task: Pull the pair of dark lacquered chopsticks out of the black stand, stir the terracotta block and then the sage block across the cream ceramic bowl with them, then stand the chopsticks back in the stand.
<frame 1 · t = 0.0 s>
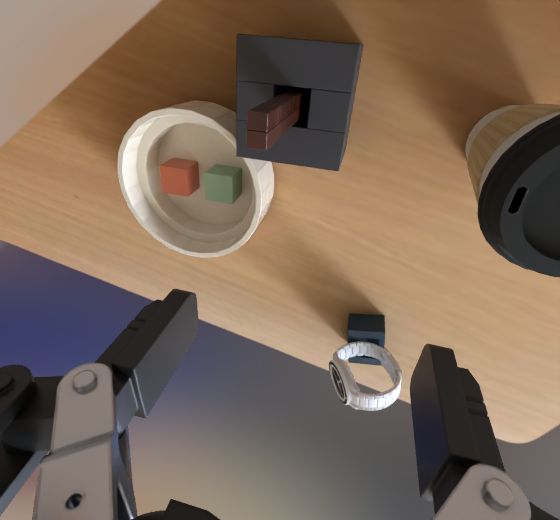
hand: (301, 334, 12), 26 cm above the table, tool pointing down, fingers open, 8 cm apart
terracotta block: (186, 172, 38), point 1 cm above the table, touching bowl
watch: (365, 330, 45), on the table
sage block: (229, 179, 38), point 1 cm above the table, touching bowl
coffee cup: (503, 142, 30), on the table
chopsticks: (288, 109, 25), in the stand
stand: (306, 95, 32), on the table
bowl: (209, 174, 38), on the table
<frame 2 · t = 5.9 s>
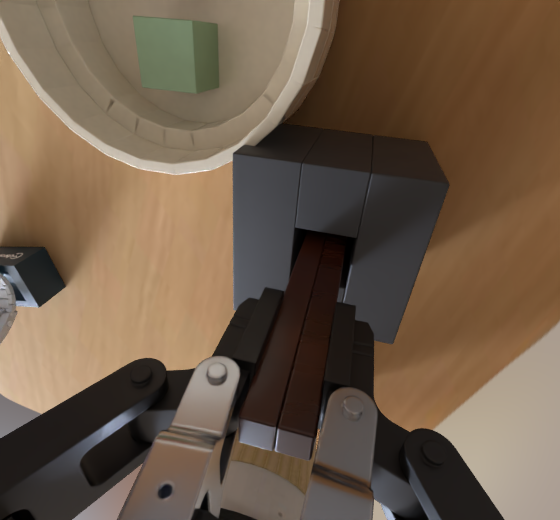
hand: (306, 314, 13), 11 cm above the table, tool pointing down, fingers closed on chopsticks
watch: (33, 265, 32), on the table
sage block: (193, 54, 19), point 1 cm above the table, touching bowl
coffee cup: (284, 376, 32), on the table
chopsticks: (318, 270, 15), in the stand, touching gripper
stand: (335, 203, 22), on the table
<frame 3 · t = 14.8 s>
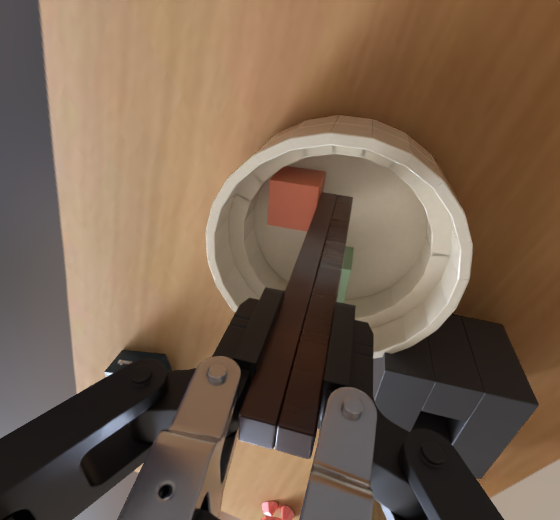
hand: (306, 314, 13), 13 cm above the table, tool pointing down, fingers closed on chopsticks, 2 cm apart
terracotta block: (301, 189, 23), point 1 cm above the table, touching bowl, chopsticks
watch: (149, 364, 39), on the table
sage block: (330, 260, 26), point 1 cm above the table, touching bowl
chopsticks: (318, 270, 15), point 10 cm above the table, touching gripper, terracotta block
stand: (424, 351, 29), on the table
cat figurine: (279, 506, 50), on the table
bowl: (336, 227, 25), on the table
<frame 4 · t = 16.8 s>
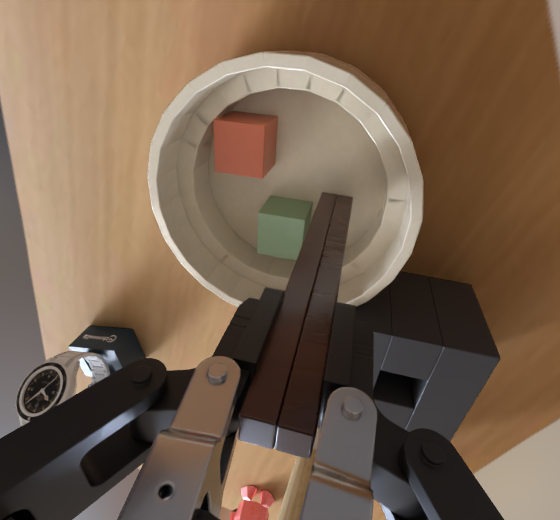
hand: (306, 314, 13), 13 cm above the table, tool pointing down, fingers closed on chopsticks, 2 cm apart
terracotta block: (254, 138, 22), point 1 cm above the table, touching bowl
watch: (118, 340, 38), on the table
sage block: (289, 217, 24), point 1 cm above the table, touching bowl
coffee cup: (334, 434, 38), on the table
chopsticks: (318, 270, 15), point 9 cm above the table, touching gripper
stand: (393, 317, 27), on the table
cat figurine: (258, 490, 49), on the table
bowl: (294, 181, 23), on the table
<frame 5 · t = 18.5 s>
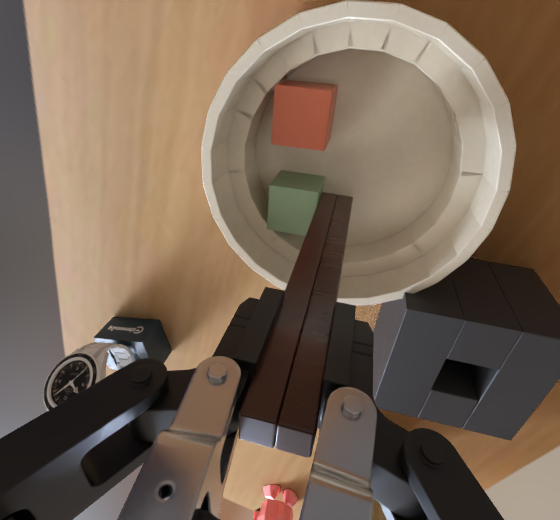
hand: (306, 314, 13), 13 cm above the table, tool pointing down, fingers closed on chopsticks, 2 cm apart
terracotta block: (309, 110, 20), point 1 cm above the table, touching bowl
watch: (143, 332, 36), on the table
sage block: (300, 194, 23), point 1 cm above the table, touching bowl, chopsticks
chopsticks: (318, 269, 15), point 10 cm above the table, touching gripper, sage block
stand: (443, 306, 26), on the table
cat figurine: (281, 489, 47), on the table
bowl: (348, 158, 22), on the table
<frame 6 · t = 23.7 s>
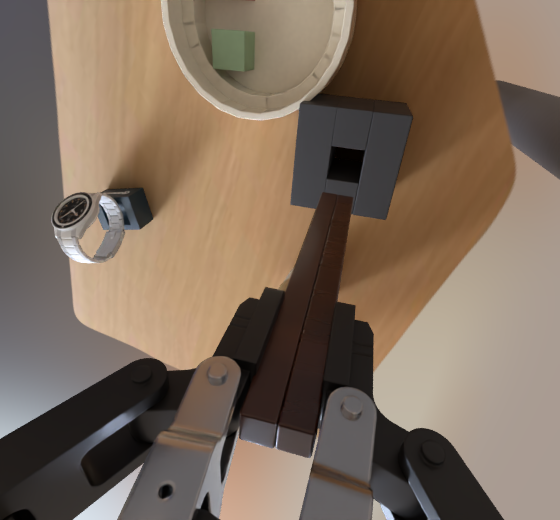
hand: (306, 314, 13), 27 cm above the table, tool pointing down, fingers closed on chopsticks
watch: (130, 203, 45), on the table
sage block: (239, 50, 32), point 1 cm above the table, touching bowl
chopsticks: (318, 270, 15), point 24 cm above the table, touching gripper
stand: (350, 145, 35), on the table
bowl: (270, 18, 31), on the table
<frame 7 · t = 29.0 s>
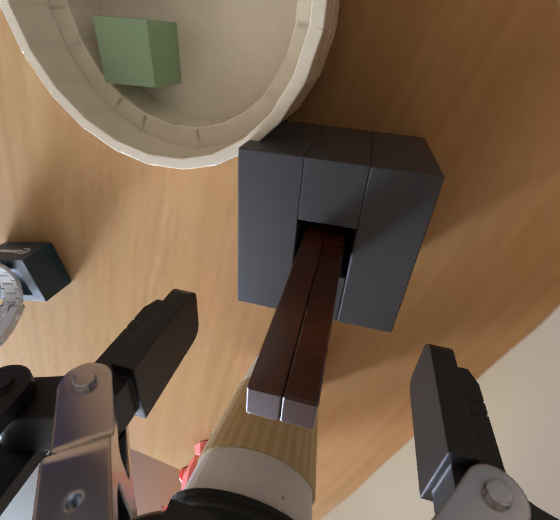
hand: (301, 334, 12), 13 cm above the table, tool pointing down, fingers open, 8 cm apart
watch: (39, 260, 33), on the table
sage block: (155, 51, 20), point 1 cm above the table, touching bowl
coffee cup: (285, 369, 33), on the table
chopsticks: (319, 260, 16), in the stand
stand: (336, 197, 23), on the table
cat figurine: (214, 447, 44), on the table
bowl: (200, 0, 19), on the table
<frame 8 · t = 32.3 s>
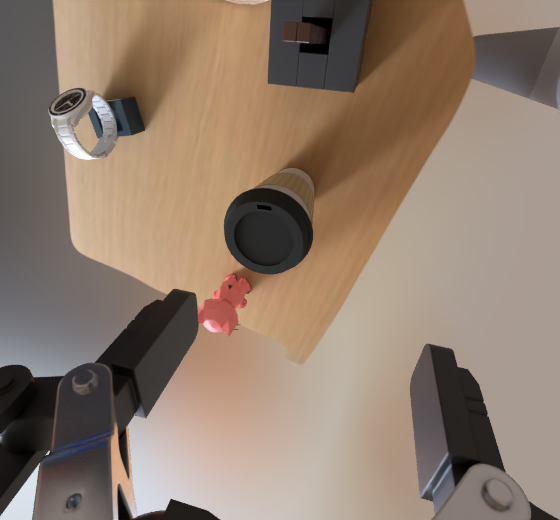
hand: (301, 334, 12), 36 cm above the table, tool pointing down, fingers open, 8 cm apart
watch: (123, 115, 48), on the table
coffee cup: (292, 189, 48), on the table
chopsticks: (313, 35, 31), in the stand
stand: (324, 37, 38), on the table
cat figurine: (237, 281, 59), on the table
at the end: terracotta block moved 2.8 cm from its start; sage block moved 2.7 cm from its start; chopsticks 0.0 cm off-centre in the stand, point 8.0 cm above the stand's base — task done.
